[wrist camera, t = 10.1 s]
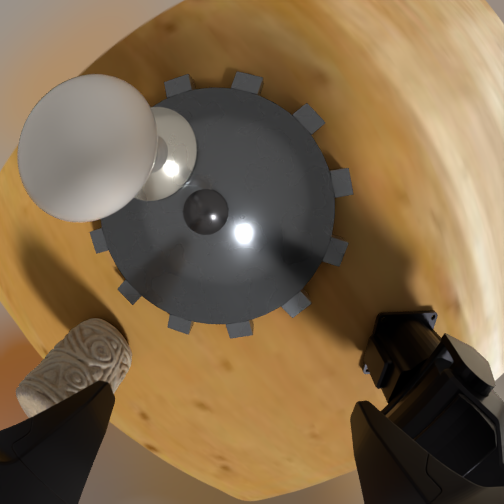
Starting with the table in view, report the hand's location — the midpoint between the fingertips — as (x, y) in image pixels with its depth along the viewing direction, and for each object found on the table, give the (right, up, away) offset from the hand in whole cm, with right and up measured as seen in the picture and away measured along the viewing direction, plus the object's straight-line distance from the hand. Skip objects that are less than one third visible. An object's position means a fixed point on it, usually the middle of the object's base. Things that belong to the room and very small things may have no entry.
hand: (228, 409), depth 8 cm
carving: (-14, -3, +16) cm, 21 cm away
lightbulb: (-6, +12, +9) cm, 16 cm away
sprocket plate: (-2, +8, +11) cm, 14 cm away
